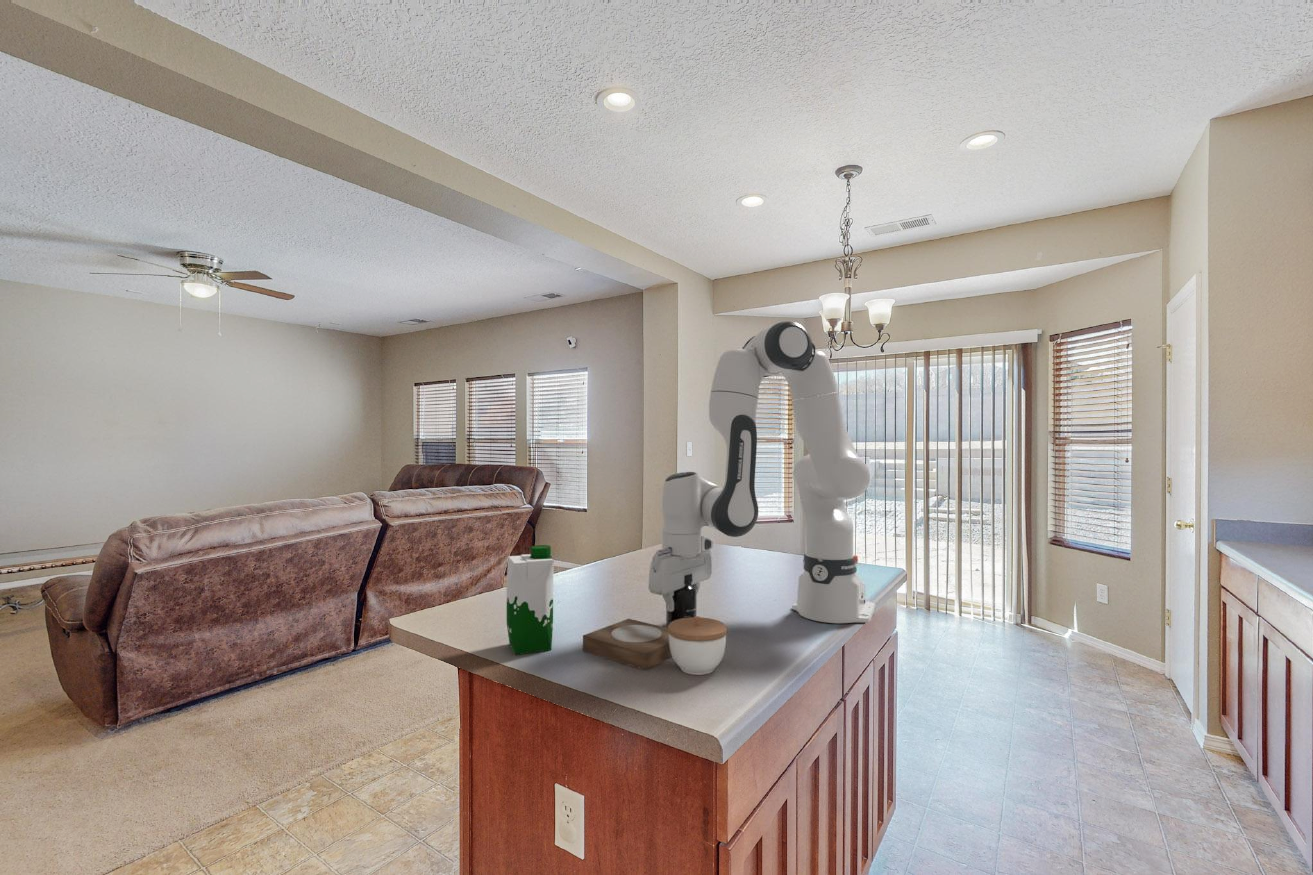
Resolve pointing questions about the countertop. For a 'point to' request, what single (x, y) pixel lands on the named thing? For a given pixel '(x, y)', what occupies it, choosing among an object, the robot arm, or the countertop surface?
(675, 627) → the lidded jar
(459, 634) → the countertop surface
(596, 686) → the countertop surface
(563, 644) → the countertop surface
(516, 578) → the milk carton
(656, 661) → the brown flat wooden block
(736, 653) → the countertop surface
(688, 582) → the supplement bottle
